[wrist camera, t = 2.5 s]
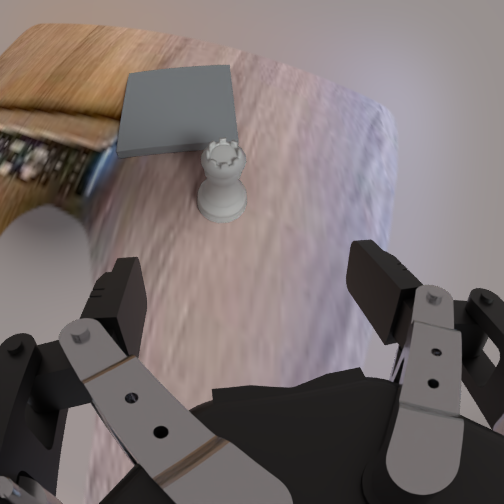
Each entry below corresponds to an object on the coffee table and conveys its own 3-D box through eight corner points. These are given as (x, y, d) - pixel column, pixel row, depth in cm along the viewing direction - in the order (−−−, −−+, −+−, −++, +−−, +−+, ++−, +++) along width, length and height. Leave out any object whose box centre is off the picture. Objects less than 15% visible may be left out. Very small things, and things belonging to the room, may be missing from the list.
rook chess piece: (248, 184, 30) (258, 130, 23) (244, 228, 29) (253, 182, 21) (201, 179, 30) (197, 124, 22) (193, 222, 28) (185, 175, 21)
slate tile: (119, 158, 30) (116, 151, 29) (131, 80, 33) (129, 73, 32) (237, 148, 31) (238, 140, 30) (229, 71, 35) (229, 64, 34)
